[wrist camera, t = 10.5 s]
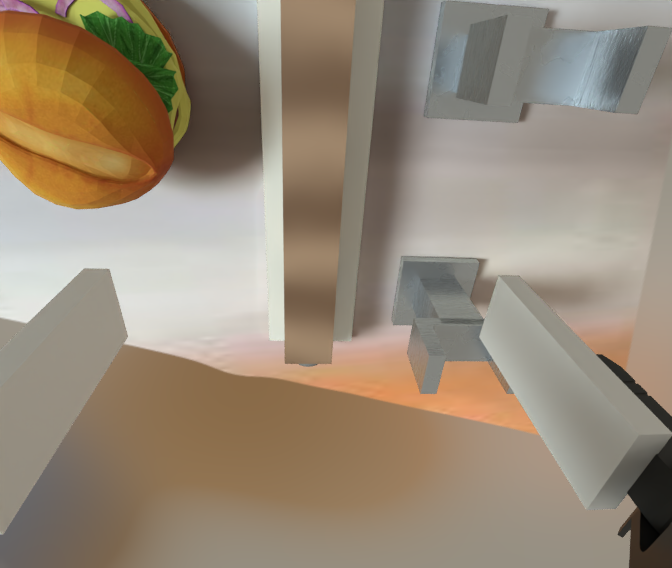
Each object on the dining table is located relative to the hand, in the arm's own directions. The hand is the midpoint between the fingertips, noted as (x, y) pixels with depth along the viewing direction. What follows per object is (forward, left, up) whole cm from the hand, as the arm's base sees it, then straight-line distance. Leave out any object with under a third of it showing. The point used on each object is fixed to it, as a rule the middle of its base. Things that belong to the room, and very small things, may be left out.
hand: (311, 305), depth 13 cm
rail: (0, 0, -15) cm, 15 cm away
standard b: (+2, +13, -15) cm, 20 cm away
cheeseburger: (-12, -4, -16) cm, 20 cm away
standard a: (+13, +1, -15) cm, 20 cm away
